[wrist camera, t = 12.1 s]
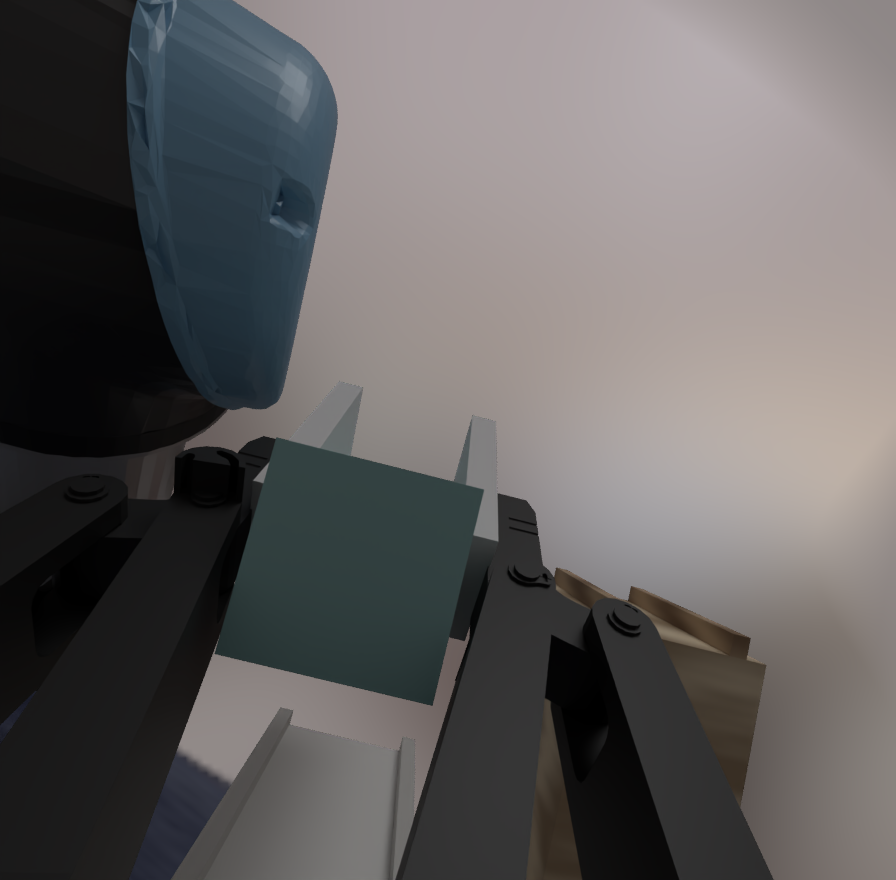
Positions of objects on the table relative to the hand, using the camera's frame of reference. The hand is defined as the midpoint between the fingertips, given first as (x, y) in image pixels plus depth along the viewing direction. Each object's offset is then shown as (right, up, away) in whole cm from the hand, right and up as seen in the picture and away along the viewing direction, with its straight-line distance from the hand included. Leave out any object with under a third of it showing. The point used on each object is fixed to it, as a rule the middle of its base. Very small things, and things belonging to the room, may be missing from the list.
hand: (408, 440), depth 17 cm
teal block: (-1, -5, +2) cm, 6 cm away
